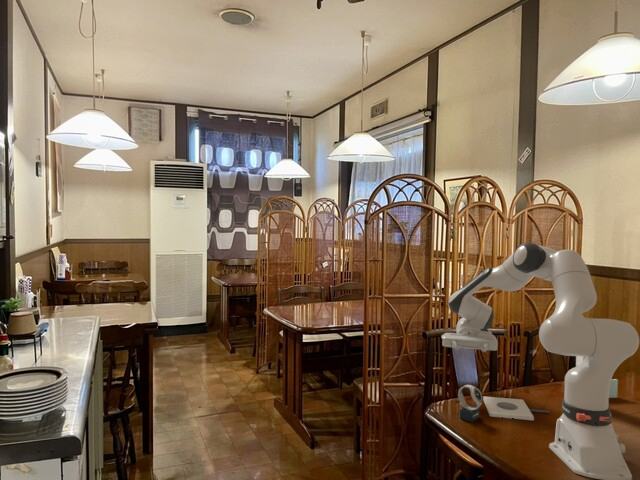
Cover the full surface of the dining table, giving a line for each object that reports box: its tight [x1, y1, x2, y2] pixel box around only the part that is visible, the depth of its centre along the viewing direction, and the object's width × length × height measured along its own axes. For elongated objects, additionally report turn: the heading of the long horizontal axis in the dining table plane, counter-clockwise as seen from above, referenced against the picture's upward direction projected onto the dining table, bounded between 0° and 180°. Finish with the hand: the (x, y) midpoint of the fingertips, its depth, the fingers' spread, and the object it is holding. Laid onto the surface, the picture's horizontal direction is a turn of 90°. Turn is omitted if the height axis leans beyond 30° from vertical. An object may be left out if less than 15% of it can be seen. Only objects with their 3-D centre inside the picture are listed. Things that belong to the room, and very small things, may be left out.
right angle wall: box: [609, 378, 619, 399], centre depth 180 cm, size 12×12×8 cm
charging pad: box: [482, 395, 550, 421], centre depth 161 cm, size 16×21×1 cm
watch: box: [457, 384, 484, 423], centre depth 154 cm, size 6×8×11 cm
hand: (470, 348), depth 167 cm, fingers open, 8 cm apart
